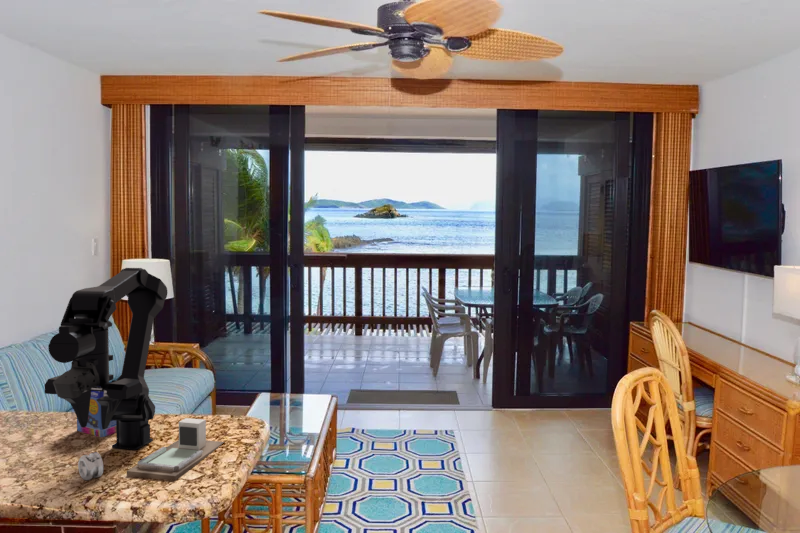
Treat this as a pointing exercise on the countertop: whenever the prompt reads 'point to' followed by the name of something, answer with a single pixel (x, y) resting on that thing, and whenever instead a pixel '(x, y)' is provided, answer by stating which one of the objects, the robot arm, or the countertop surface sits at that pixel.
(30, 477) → the countertop surface
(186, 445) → the block
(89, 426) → the ink cartridge box
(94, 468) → the metal grooved wheel
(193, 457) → the rail guides
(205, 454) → the rail board
